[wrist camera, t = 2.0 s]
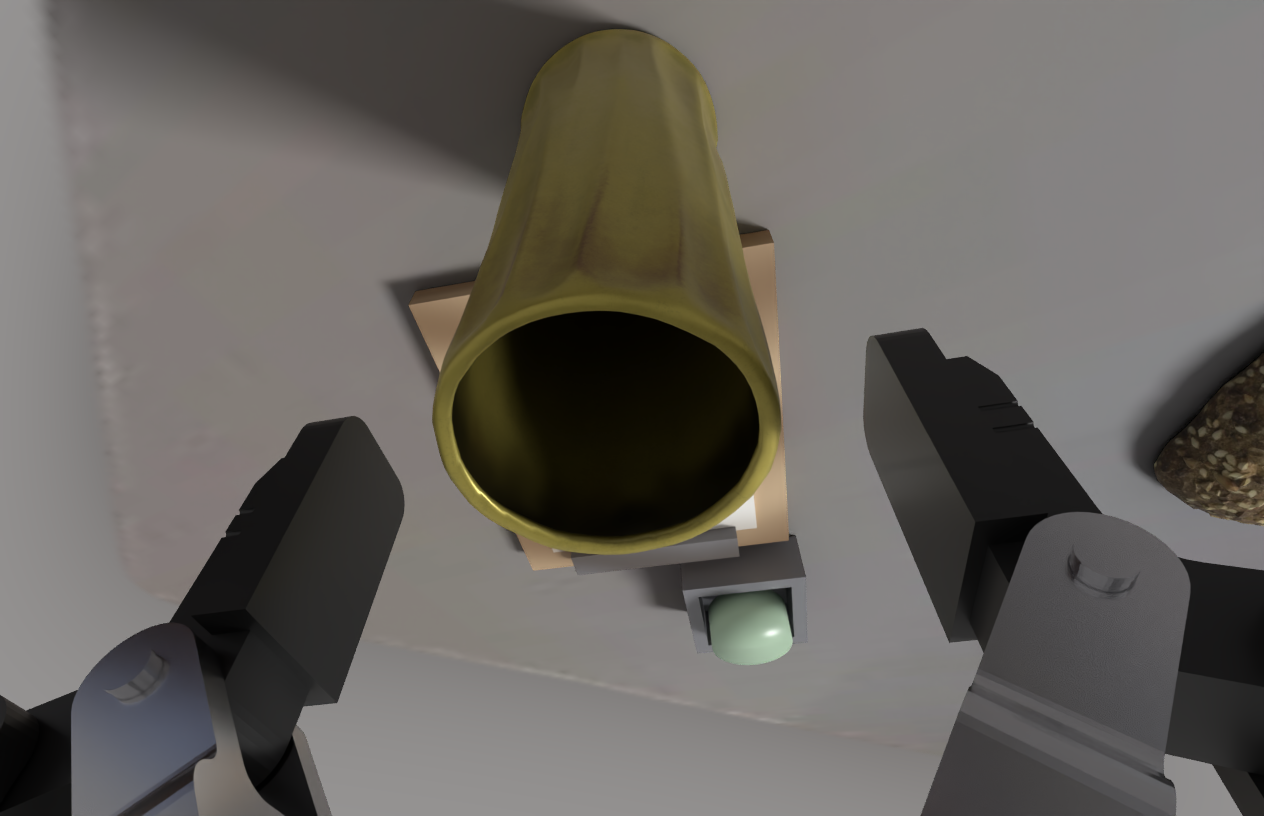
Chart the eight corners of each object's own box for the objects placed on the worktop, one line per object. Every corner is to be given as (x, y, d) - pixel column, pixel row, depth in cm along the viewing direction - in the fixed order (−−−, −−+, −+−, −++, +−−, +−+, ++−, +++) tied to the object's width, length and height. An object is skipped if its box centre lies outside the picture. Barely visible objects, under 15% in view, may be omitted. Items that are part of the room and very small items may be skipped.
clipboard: (415, 291, 24) (401, 318, 23) (768, 230, 23) (778, 255, 21) (535, 554, 34) (531, 585, 33) (785, 524, 33) (792, 555, 31)
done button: (704, 591, 33) (707, 627, 31) (783, 582, 32) (791, 618, 31) (712, 633, 35) (716, 668, 34) (786, 626, 35) (793, 660, 33)
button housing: (679, 549, 34) (682, 590, 32) (795, 535, 33) (805, 577, 31) (693, 613, 38) (697, 653, 36) (798, 602, 37) (807, 642, 35)
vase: (566, 249, 23) (508, 599, 12) (488, 70, 19) (303, 338, 8) (735, 196, 22) (840, 531, 11) (686, -7, 18) (772, 192, 7)
